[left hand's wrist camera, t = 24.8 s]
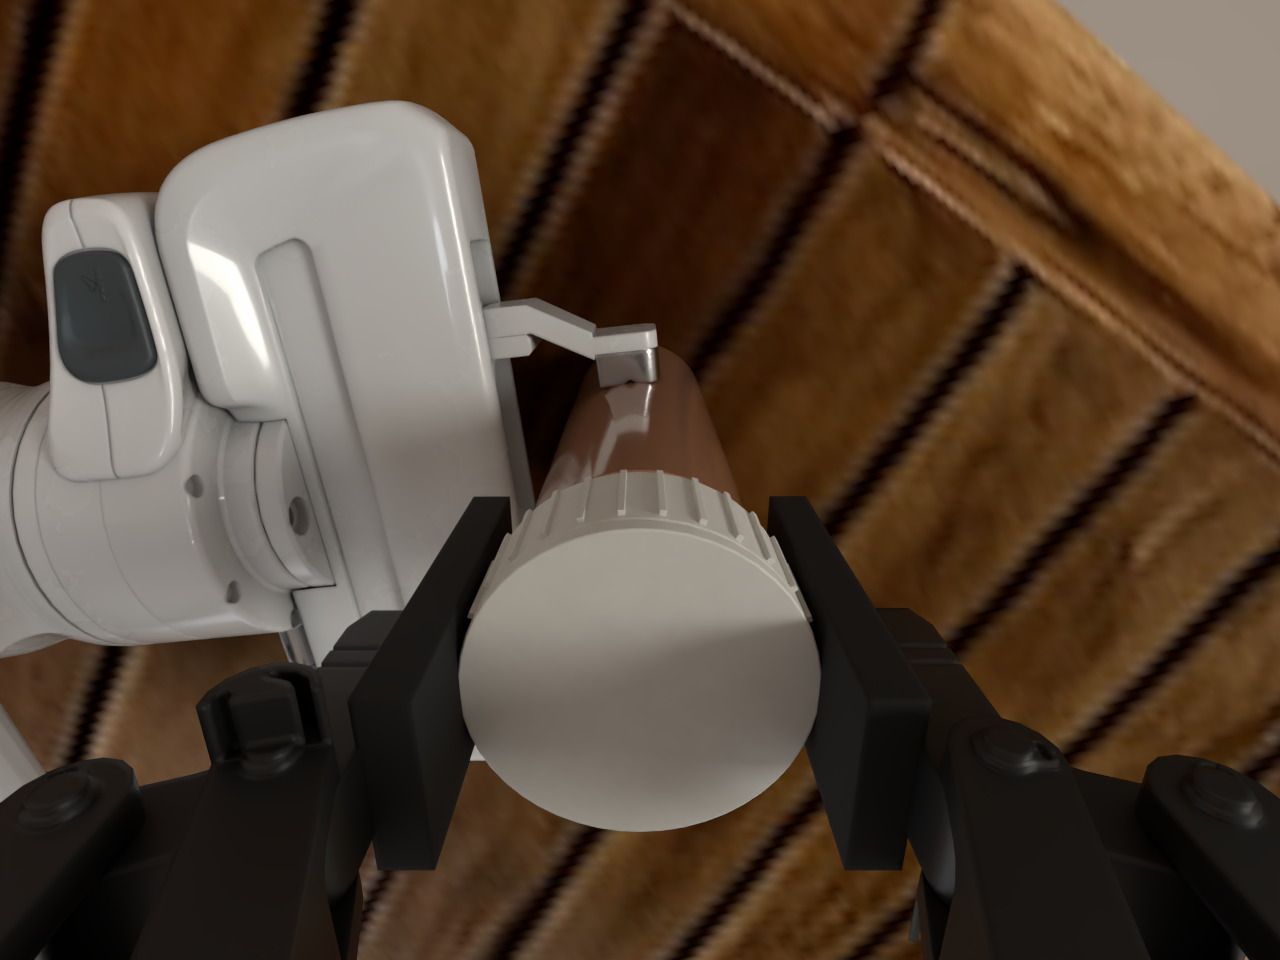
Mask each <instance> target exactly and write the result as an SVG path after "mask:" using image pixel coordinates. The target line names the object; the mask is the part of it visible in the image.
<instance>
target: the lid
mask: <svg viewBox="0 0 1280 960" xmlns="http://www.w3.org/2000/svg"><path fill="white" fill-rule="evenodd" d="M467 618H470V619H472V620H471V623H470V625H469V627H468V630H467V632H466V634H465V638H464V641H463V645H462V648H461V652H460V656H459V665H458V676H459V686H460V696H461V704H462V712H463V718H464V721H465V723H466V726H467V729H468V731H469V734H470V736H471V738H472V740H473V741H474V743H475V745H476V747H477V749H478V751H479V752H480V754H481V755H482V756H483V758H484V759H485V760H486V762H487V763H488V764H489V766H490V767H491V768H492V769H493V770H494V771H495V772H496V773H497V774H498V775H499V777H500V778H501V779H502V780H503V781H504V782H505V783H507V784H508V785H509V786H510V787H512V788H513V789H514V790H515V791H516V792H518V793H519V794H520V795H522V796H523V797H525V798H526V799H528V800H529V801H531V802H533V803H534V804H536V805H537V806H539V807H541V808H543V809H545V810H547V811H549V812H551V813H554V814H556V815H558V816H560V817H563V818H566V819H569V820H572V821H574V822H577V823H581V824H585V825H589V826H593V827H597V828H604V829H611V830H618V831H637V832H645V831H662V830H669V829H675V828H682V827H686V826H690V825H694V824H698V823H702V822H705V821H708V820H711V819H713V818H716V817H718V816H721V815H724V814H726V813H728V812H730V811H732V810H734V809H736V808H738V807H740V806H742V805H744V804H745V803H747V802H748V801H750V800H751V799H753V798H754V797H756V796H757V795H759V794H760V793H762V792H763V791H764V790H765V789H766V788H768V787H769V786H770V785H771V784H772V783H774V782H775V781H776V780H777V779H778V778H779V777H780V776H781V775H782V774H783V772H784V771H785V770H786V769H787V768H788V767H789V766H790V765H791V763H792V762H793V761H794V759H795V758H796V756H797V755H798V754H799V752H800V751H801V749H802V748H803V746H804V744H805V742H806V740H807V738H808V736H809V734H810V732H811V730H812V727H813V724H814V721H815V718H816V715H817V708H818V700H819V691H820V681H821V664H820V657H819V651H818V647H817V644H816V641H815V638H814V634H813V631H812V629H811V627H810V624H809V623H810V622H813V619H812V616H811V614H810V611H809V609H808V607H807V605H806V602H805V600H804V598H803V596H802V593H801V591H800V589H799V587H798V584H797V582H796V580H795V578H794V575H793V573H792V571H791V569H790V566H789V564H787V562H786V560H785V558H784V555H783V553H782V551H781V549H780V546H779V544H778V542H777V540H776V538H775V537H774V536H772V537H769V536H768V534H767V533H766V531H765V530H764V529H763V527H762V526H761V525H760V523H759V520H758V518H757V515H756V514H755V513H754V512H753V511H752V512H751V513H750V514H749V513H748V512H747V511H746V510H745V509H743V508H742V507H741V506H740V505H739V504H737V503H736V502H735V501H733V500H732V499H731V496H730V494H729V493H727V492H726V491H724V493H723V494H722V493H720V492H719V491H717V490H714V489H712V488H710V487H708V486H706V485H703V484H701V483H699V481H698V479H697V478H694V477H692V479H691V480H689V479H686V478H682V477H679V476H673V475H667V474H663V470H657V472H656V473H649V472H630V473H627V470H620V473H617V474H611V475H606V476H601V477H596V478H593V479H592V477H591V476H589V477H585V480H584V482H581V483H578V484H575V485H573V486H571V487H569V488H567V489H565V490H563V491H561V492H560V491H559V490H558V489H557V490H555V491H554V492H553V493H552V496H551V498H549V499H548V500H546V501H545V502H543V503H542V504H540V505H539V506H538V507H537V508H536V509H535V510H533V511H532V510H531V509H529V510H527V511H526V513H525V515H524V518H523V520H522V522H521V523H520V524H519V526H518V527H517V528H516V529H515V530H514V531H513V533H512V535H511V534H509V533H507V534H506V535H505V537H504V539H503V541H502V544H501V546H500V548H499V551H498V553H497V555H496V557H495V560H492V562H491V564H490V566H489V569H488V571H487V573H486V575H485V578H484V580H483V582H482V584H481V586H480V589H479V591H478V593H477V595H476V598H475V600H474V602H473V604H472V607H471V609H470V611H469V614H468V616H467Z"/></svg>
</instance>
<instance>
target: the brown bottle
mask: <svg viewBox="0 0 1280 960" xmlns="http://www.w3.org/2000/svg"><path fill="white" fill-rule="evenodd" d="M658 354H659V365H660V379H659V380H657V381H655V382H649V383H636V382H634V381H632V380H629V381H627V382H626V383H625V384H624V385H620V386H613V387H603V388H600V383H599V376H598V369H597V363H596V362H595V363H594V364H593V365H592V366H591V367H590V369H589V370H588V372H587V373H586V375H585V377H584V379H583V382H582V384H581V387H580V389H579V392H578V395H577V397H576V400H575V403H574V405H573V408H572V410H571V413H570V416H569V418H568V421H567V424H566V426H565V429H564V432H563V434H562V437H561V440H560V442H559V445H558V448H557V450H556V453H555V455H554V458H553V461H552V463H551V466H550V469H549V471H548V474H547V477H546V479H545V482H544V485H543V487H542V490H541V493H540V495H539V498H538V500H537V503H536V506H535V508H534V510H535V509H536V508H537V507H538V506H539V505H540V504H542V503H543V502H545V501H546V500H548V499H549V498H551V496H552V493H553V492H554V491H555V490H557V489H558V490H559V491H560V492H561V491H563V490H565V489H567V488H569V487H571V486H573V485H575V484H578V483H581V482H584V480H585V477H589V476H591V477H592V479H593V478H596V477H601V476H606V475H611V474H617V473H620V470H627V473H630V472H649V473H656V472H657V470H663V474H667V475H673V476H679V477H682V478H686V479H689V480H691V479H692V477H694V478H697V479H698V481H699V483H701V484H703V485H706V486H708V487H710V488H712V489H714V490H717V491H719V492H720V493H722V494H723V493H724V491H726V492H727V493H729V494H730V496H731V499H732V500H733V501H735V502H736V503H737V504H739V505H740V506H741V507H742V508H743V509H745V508H744V505H743V502H742V500H741V497H740V494H739V492H738V489H737V486H736V484H735V481H734V478H733V476H732V473H731V470H730V468H729V465H728V463H727V460H726V457H725V455H724V452H723V449H722V447H721V444H720V441H719V439H718V436H717V433H716V431H715V428H714V425H713V423H712V420H711V417H710V415H709V412H708V409H707V407H706V404H705V401H704V399H703V396H702V393H701V391H700V388H699V385H698V383H697V380H696V378H695V376H694V374H693V372H692V371H691V369H690V368H689V367H688V365H687V364H686V363H685V362H684V361H683V360H682V359H681V358H679V357H678V356H677V355H676V354H674V353H673V352H671V351H669V350H667V349H665V348H663V347H660V346H658Z"/></svg>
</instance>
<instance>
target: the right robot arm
mask: <svg viewBox="0 0 1280 960" xmlns="http://www.w3.org/2000/svg"><path fill="white" fill-rule="evenodd" d="M42 250H43V262H44V272H45V282H46V294H47V306H48V321H49V339H50V381H48V382H46V383H43V384H41V385H39V386H34V387H32V386H25V385H21V384H15V383H10V382H0V658H5V657H11V656H17V655H22V654H26V653H30V652H34V651H37V650H40V649H43V648H46V647H48V646H51V645H53V644H56V643H58V642H61V641H63V640H66V639H74V640H78V641H83V642H87V643H93V644H98V645H108V646H136V645H145V644H157V643H167V642H178V641H189V640H199V639H210V638H222V637H232V636H243V635H254V634H265V633H275V632H277V633H278V636H279V638H280V641H281V644H282V647H283V650H284V653H285V656H286V658H287V661H288V662H295V663H300V664H304V665H309V666H311V667H312V668H314V669H315V670H316V669H317V668H318V667H321V662H322V661H323V660H324V658H325V657H326V656H327V654H328V653H329V651H330V650H333V646H334V645H335V643H336V642H337V641H338V639H339V638H340V636H341V635H342V634H343V632H344V631H345V630H346V628H347V627H348V626H350V625H351V624H353V623H354V622H356V621H357V620H358V619H360V618H361V617H363V616H364V615H366V614H367V613H369V612H370V611H372V610H404V608H405V606H406V605H407V603H408V602H409V600H410V598H411V597H412V595H413V594H414V592H415V590H416V589H417V587H418V586H419V584H420V582H421V581H422V579H423V577H424V576H425V574H426V573H427V571H428V569H429V568H430V566H431V565H432V563H433V561H434V560H435V558H436V557H437V555H438V553H439V552H440V550H441V548H442V547H443V545H444V544H445V542H446V540H447V539H448V537H449V536H450V534H451V532H452V531H453V529H454V528H455V526H456V524H457V523H458V521H459V519H460V518H461V516H462V515H463V513H464V511H465V510H466V508H467V507H468V505H469V503H470V502H471V500H472V499H473V497H474V496H510V505H511V519H512V533H513V531H514V530H515V529H516V528H517V527H518V526H519V524H520V523H521V522H522V520H523V518H524V515H525V513H526V511H527V510H529V509H531V510H532V511H533V510H534V508H535V506H536V502H535V496H534V491H533V485H532V479H531V473H530V468H529V462H528V456H527V451H526V445H525V439H524V433H523V428H522V422H521V416H520V410H519V405H518V399H517V393H516V387H515V382H514V376H513V370H512V364H511V359H510V358H512V357H520V356H529V355H530V354H531V353H532V351H533V350H534V349H535V348H536V347H537V346H538V344H539V343H540V342H541V341H542V339H545V340H547V341H550V342H552V343H554V344H557V345H559V346H562V347H564V348H566V349H569V350H571V351H574V352H576V353H578V354H581V355H583V356H586V357H588V358H591V359H593V360H595V358H596V363H597V369H598V376H599V383H600V388H603V387H613V386H620V385H624V384H625V383H626V382H627V381H629V380H632V381H634V382H636V383H649V382H655V381H657V380H659V379H660V365H659V354H658V343H657V334H656V325H655V324H636V325H626V326H617V327H608V328H599V329H597V328H596V324H594V323H591V322H589V321H587V320H585V319H582V318H580V317H578V316H576V315H574V314H571V313H569V312H567V311H565V310H562V309H560V308H558V307H556V306H554V305H551V304H549V303H547V302H545V301H543V300H540V299H538V298H529V299H520V300H511V301H502V302H501V301H500V296H499V290H498V284H497V278H496V273H495V267H494V261H493V255H492V250H491V244H490V238H489V232H488V227H487V221H486V215H485V209H484V204H483V198H482V192H481V186H480V181H479V175H478V169H477V163H476V158H475V153H474V149H473V146H472V144H471V142H470V141H469V139H468V138H467V137H466V136H465V135H464V134H462V133H461V132H460V131H459V130H457V129H456V128H455V127H454V126H453V125H451V124H450V123H449V122H448V121H446V120H445V119H444V118H442V117H441V116H439V115H438V114H437V113H435V112H433V111H432V110H430V109H428V108H426V107H424V106H421V105H418V104H415V103H412V102H408V101H399V100H395V101H380V102H371V103H363V104H357V105H352V106H346V107H341V108H335V109H330V110H325V111H321V112H316V113H312V114H307V115H302V116H298V117H294V118H291V119H287V120H283V121H279V122H275V123H271V124H268V125H264V126H261V127H258V128H255V129H251V130H248V131H245V132H241V133H238V134H235V135H232V136H229V137H226V138H223V139H221V140H218V141H216V142H213V143H210V144H208V145H206V146H204V147H202V148H200V149H198V150H196V151H194V152H193V153H191V154H190V155H188V156H187V157H185V158H184V159H183V160H182V161H180V162H179V163H178V164H177V165H176V166H175V167H174V168H173V169H172V170H171V172H170V173H169V174H168V175H167V177H166V179H165V180H164V182H163V184H162V186H161V188H160V191H159V193H158V192H133V193H114V194H104V195H95V196H88V197H81V198H75V199H69V200H65V201H62V202H59V203H57V204H55V205H53V206H52V207H51V208H50V209H49V210H48V211H47V213H46V215H45V218H44V221H43V227H42ZM470 761H486V760H485V759H484V758H483V756H482V755H481V754H480V752H479V751H478V749H477V747H476V745H475V746H474V749H473V752H472V755H471V759H470ZM46 773H47V772H46V771H45V770H44V769H43V767H42V766H41V764H40V762H39V761H38V759H37V758H36V756H35V755H34V753H33V752H32V750H31V749H30V747H29V746H28V744H27V743H26V741H25V740H24V738H23V736H22V735H21V733H20V732H19V730H18V729H17V727H16V726H15V724H14V723H13V721H12V720H11V718H10V717H9V715H8V714H7V712H6V711H5V709H4V707H3V706H2V704H1V703H0V802H2V801H3V800H4V799H6V798H7V797H8V796H10V795H11V794H12V793H14V792H15V791H16V790H17V789H19V788H20V787H21V786H23V785H25V784H26V783H28V782H30V781H32V780H34V779H36V778H38V777H40V776H42V775H44V774H46Z"/></svg>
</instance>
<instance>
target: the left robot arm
mask: <svg viewBox="0 0 1280 960" xmlns="http://www.w3.org/2000/svg"><path fill="white" fill-rule="evenodd" d="M507 533H509V534H511V535H512V519H511V505H510V496H474V497H473V499H472V500H471V502H470V503H469V505H468V507H467V508H466V510H465V511H464V513H463V515H462V516H461V518H460V519H459V521H458V523H457V524H456V526H455V528H454V529H453V531H452V532H451V534H450V536H449V537H448V539H447V540H446V542H445V544H444V545H443V547H442V548H441V550H440V552H439V553H438V555H437V557H436V558H435V560H434V561H433V563H432V565H431V566H430V568H429V569H428V571H427V573H426V574H425V576H424V577H423V579H422V581H421V582H420V584H419V586H418V587H417V589H416V590H415V592H414V594H413V595H412V597H411V598H410V600H409V602H408V603H407V605H406V606H405V608H404V610H372V611H370V612H369V613H367V614H366V615H364V616H363V617H361V618H360V619H358V620H357V621H356V622H354V623H353V624H351V625H350V626H348V627H347V628H346V630H345V631H344V632H343V634H342V635H341V636H340V638H339V639H338V641H337V642H336V643H335V645H334V646H333V650H330V651H329V653H328V654H327V656H326V657H325V658H324V660H323V661H322V662H321V667H318V668H317V669H316V670H315V669H314V668H312V667H311V666H309V665H304V664H300V663H295V662H286V663H271V664H267V665H263V666H259V667H254V668H250V669H247V670H245V671H243V672H241V673H238V674H236V675H234V676H231V677H229V678H227V679H225V680H224V681H222V682H221V683H219V684H218V685H216V686H215V687H214V688H212V689H211V690H209V691H208V692H207V693H206V694H205V695H204V697H203V698H202V699H201V700H200V702H199V703H198V704H197V705H196V710H197V713H198V717H199V720H200V724H201V728H202V731H203V735H204V738H205V742H206V746H207V749H208V753H209V756H210V760H211V767H210V769H209V770H206V771H203V772H200V773H196V774H193V775H188V776H184V777H179V778H175V779H170V780H166V781H161V782H157V783H153V784H148V785H144V786H138V782H137V779H136V776H135V773H134V770H133V768H132V767H130V766H129V765H128V764H127V763H125V762H124V761H123V760H118V759H110V758H98V759H91V760H84V761H78V762H75V763H72V764H69V765H66V766H63V767H59V768H57V769H54V770H52V771H49V772H47V773H46V774H44V775H42V776H40V777H38V778H36V779H34V780H32V781H30V782H28V783H26V784H25V785H23V786H21V787H20V788H19V789H17V790H16V791H15V792H14V793H12V794H11V795H10V796H8V797H7V798H6V799H4V800H3V801H2V802H0V960H357V952H358V943H359V934H360V924H361V915H362V906H363V892H362V885H361V879H360V874H359V868H360V866H361V864H362V861H363V859H364V857H365V855H366V852H367V850H368V848H369V845H370V843H371V841H373V847H374V852H375V858H376V863H377V869H378V870H435V868H436V865H437V862H438V859H439V856H440V852H441V849H442V846H443V843H444V840H445V837H446V834H447V831H448V827H449V824H450V821H451V818H452V815H453V812H454V809H455V806H456V802H457V799H458V796H459V793H460V790H461V787H462V784H463V780H464V777H465V774H466V771H467V768H468V765H469V762H470V759H471V755H472V752H473V749H474V746H475V743H474V741H473V740H472V738H471V736H470V734H469V731H468V729H467V726H466V723H465V721H464V718H463V712H462V704H461V696H460V686H459V676H458V665H459V656H460V652H461V648H462V645H463V641H464V638H465V634H466V632H467V630H468V627H469V625H470V623H471V620H472V619H470V618H467V616H468V614H469V611H470V609H471V607H472V604H473V602H474V600H475V598H476V595H477V593H478V591H479V589H480V586H481V584H482V582H483V580H484V578H485V575H486V573H487V571H488V569H489V566H490V564H491V562H492V560H495V557H496V555H497V553H498V551H499V548H500V546H501V544H502V541H503V539H504V537H505V535H506V534H507ZM767 534H768V536H769V537H772V536H774V537H775V538H776V540H777V542H778V544H779V546H780V549H781V551H782V553H783V555H784V558H785V560H786V562H787V564H789V566H790V569H791V571H792V573H793V575H794V578H795V580H796V582H797V584H798V587H799V589H800V591H801V593H802V596H803V598H804V600H805V602H806V605H807V607H808V609H809V611H810V614H811V616H812V619H813V622H810V623H809V624H810V627H811V629H812V631H813V634H814V638H815V641H816V644H817V647H818V651H819V657H820V664H821V681H820V691H819V700H818V708H817V715H816V718H815V721H814V724H813V727H812V730H811V732H810V734H809V736H808V738H807V740H806V742H805V747H806V750H807V754H808V757H809V760H810V763H811V766H812V769H813V772H814V775H815V779H816V782H817V785H818V788H819V791H820V794H821V797H822V801H823V804H824V807H825V810H826V813H827V816H828V819H829V822H830V826H831V829H832V832H833V835H834V838H835V841H836V844H837V847H838V851H839V854H840V857H841V860H842V863H843V866H844V869H845V870H902V866H903V861H904V855H905V850H906V844H907V839H908V838H909V841H910V843H911V845H912V848H913V850H914V852H915V854H916V857H917V859H918V861H919V863H920V866H921V868H922V869H921V874H920V879H919V885H918V890H917V895H916V900H915V905H914V910H913V915H912V920H911V926H910V933H909V940H910V941H914V942H917V943H918V938H919V934H920V932H921V941H922V950H923V960H1244V959H1245V957H1246V956H1247V958H1248V959H1249V960H1280V799H1279V798H1278V797H1277V796H1275V795H1274V794H1273V793H1271V792H1270V791H1269V790H1267V789H1266V788H1265V787H1263V786H1262V785H1261V784H1259V783H1258V782H1256V781H1254V780H1252V779H1251V778H1249V777H1247V776H1245V775H1243V774H1241V773H1239V772H1237V771H1235V770H1233V769H1232V768H1229V767H1227V766H1224V765H1221V764H1219V763H1218V764H1217V763H1215V762H1212V761H1209V760H1206V759H1203V758H1197V757H1190V756H1183V755H1170V756H1162V757H1157V758H1156V759H1155V760H1154V761H1153V762H1151V763H1150V764H1149V765H1148V766H1147V769H1146V772H1145V775H1144V778H1143V781H1142V784H1141V783H1136V782H1132V781H1127V780H1123V779H1118V778H1114V777H1109V776H1105V775H1100V774H1096V773H1091V772H1087V771H1083V770H1080V769H1077V768H1073V767H1070V765H1069V763H1068V762H1067V760H1066V759H1065V757H1064V756H1063V755H1062V753H1061V752H1060V750H1059V749H1058V747H1056V746H1055V745H1054V744H1053V743H1051V742H1050V741H1049V740H1048V739H1046V738H1045V737H1044V736H1042V735H1041V734H1040V733H1038V732H1036V731H1034V730H1032V729H1030V728H1028V727H1026V726H1024V725H1022V724H1020V723H1018V722H1014V721H1010V720H1007V719H1003V718H1001V717H1000V715H999V714H998V713H997V711H996V710H995V709H994V707H993V706H992V705H991V703H990V702H989V701H988V699H987V698H986V696H985V695H984V694H983V692H982V691H981V690H980V688H979V687H978V686H977V684H976V683H975V682H974V680H973V679H972V678H971V676H970V675H969V673H968V672H967V671H966V669H965V668H964V667H963V665H959V660H958V659H957V657H956V656H955V655H954V653H953V652H952V651H951V649H950V648H947V644H946V642H945V641H944V640H943V638H942V637H941V636H940V634H939V633H938V632H937V630H936V629H935V628H934V626H933V625H932V624H931V623H929V622H928V621H926V620H925V619H923V618H922V617H920V616H919V615H917V614H916V613H914V612H913V611H911V610H910V609H909V608H875V607H874V606H873V604H872V602H871V601H870V599H869V598H868V596H867V594H866V593H865V591H864V589H863V588H862V586H861V585H860V583H859V581H858V580H857V578H856V577H855V575H854V573H853V572H852V570H851V569H850V567H849V565H848V564H847V562H846V560H845V559H844V557H843V556H842V554H841V552H840V551H839V549H838V548H837V546H836V544H835V543H834V541H833V540H832V538H831V536H830V535H829V533H828V531H827V530H826V528H825V527H824V525H823V523H822V522H821V520H820V519H819V517H818V515H817V514H816V512H815V510H814V509H813V507H812V506H811V504H810V502H809V501H808V499H807V498H806V496H770V499H769V513H768V527H767Z"/></svg>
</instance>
